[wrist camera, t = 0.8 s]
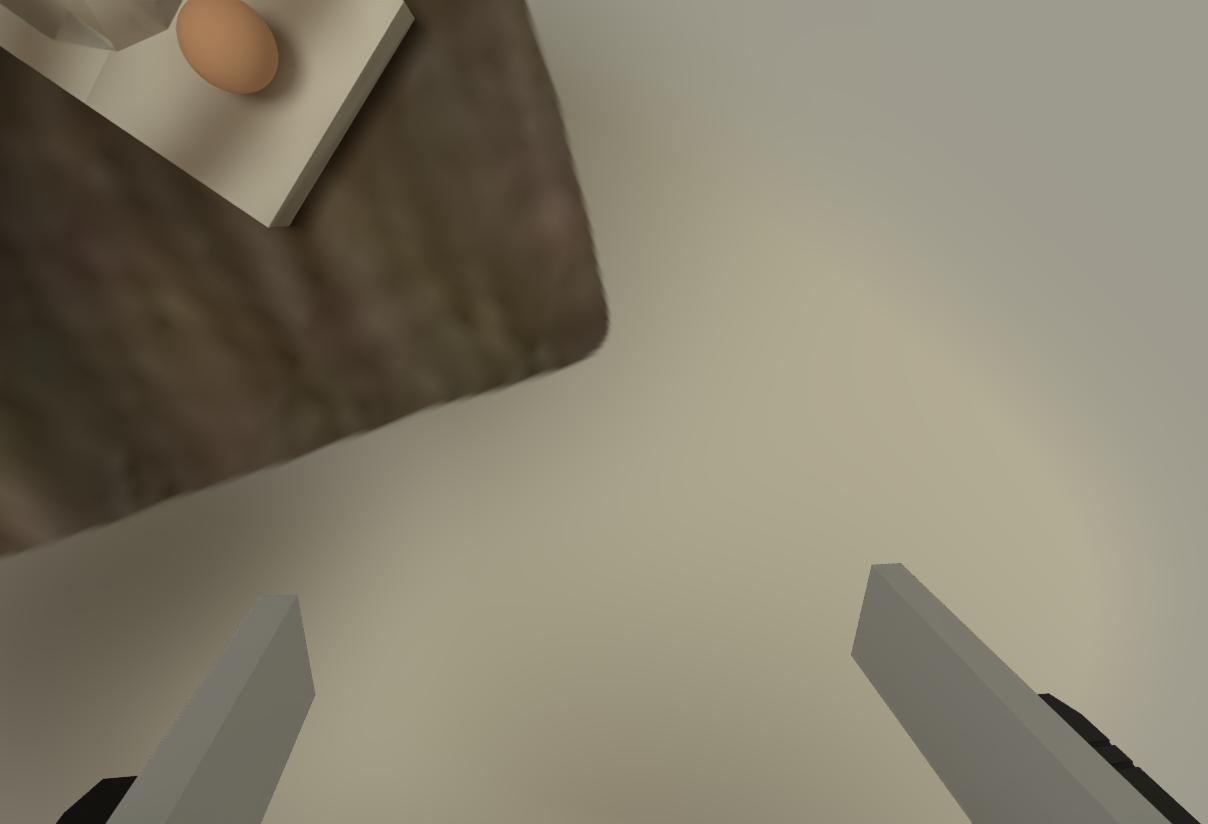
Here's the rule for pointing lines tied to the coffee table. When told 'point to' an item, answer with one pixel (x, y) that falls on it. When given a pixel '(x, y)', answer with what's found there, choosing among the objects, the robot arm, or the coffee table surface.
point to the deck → (204, 112)
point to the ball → (227, 44)
